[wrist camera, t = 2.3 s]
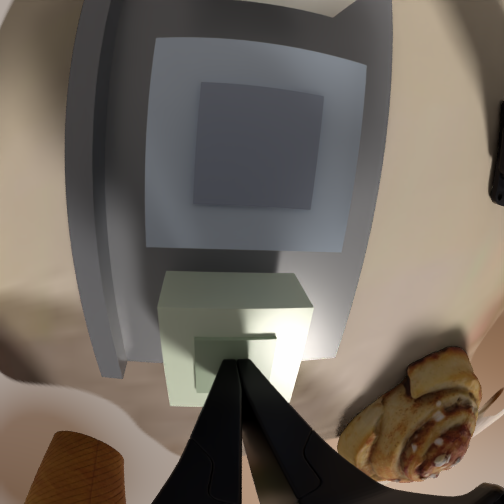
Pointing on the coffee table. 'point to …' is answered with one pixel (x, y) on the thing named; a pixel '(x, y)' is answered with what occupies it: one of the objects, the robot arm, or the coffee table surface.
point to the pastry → (417, 421)
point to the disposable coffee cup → (78, 472)
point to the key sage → (230, 329)
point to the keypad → (133, 164)
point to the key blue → (250, 145)
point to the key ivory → (312, 5)
